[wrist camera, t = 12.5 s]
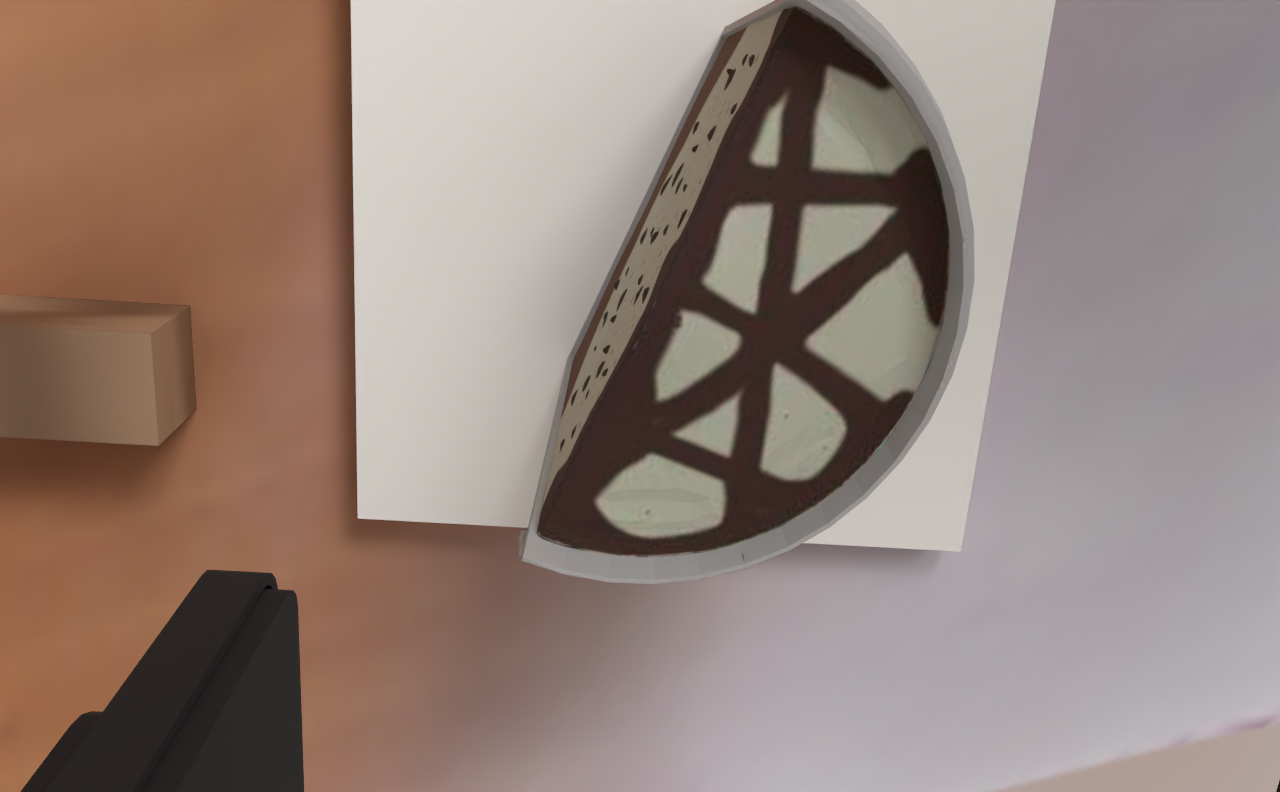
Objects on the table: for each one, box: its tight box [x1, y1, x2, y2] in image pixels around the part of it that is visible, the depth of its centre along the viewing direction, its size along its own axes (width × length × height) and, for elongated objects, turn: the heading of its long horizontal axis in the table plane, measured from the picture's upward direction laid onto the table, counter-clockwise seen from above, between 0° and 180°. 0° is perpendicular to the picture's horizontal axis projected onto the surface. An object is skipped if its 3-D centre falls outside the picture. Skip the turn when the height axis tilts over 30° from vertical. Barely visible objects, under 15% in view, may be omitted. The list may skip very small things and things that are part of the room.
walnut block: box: [0, 294, 196, 446], centre depth 31 cm, size 6×3×3 cm, turn 86°
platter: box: [351, 0, 1056, 552], centre depth 31 cm, size 17×16×1 cm
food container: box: [519, 0, 974, 584], centre depth 26 cm, size 12×6×10 cm, turn 155°
